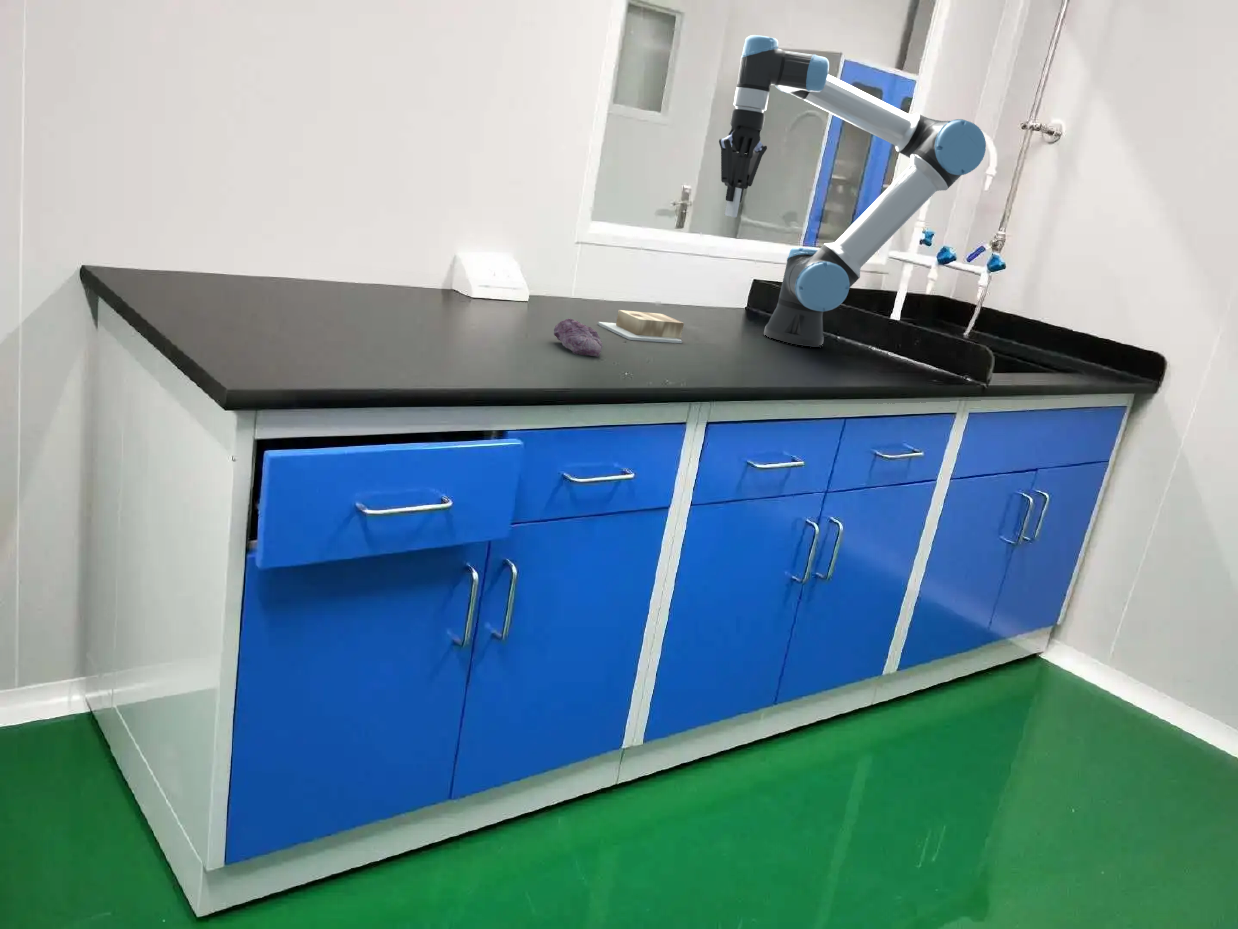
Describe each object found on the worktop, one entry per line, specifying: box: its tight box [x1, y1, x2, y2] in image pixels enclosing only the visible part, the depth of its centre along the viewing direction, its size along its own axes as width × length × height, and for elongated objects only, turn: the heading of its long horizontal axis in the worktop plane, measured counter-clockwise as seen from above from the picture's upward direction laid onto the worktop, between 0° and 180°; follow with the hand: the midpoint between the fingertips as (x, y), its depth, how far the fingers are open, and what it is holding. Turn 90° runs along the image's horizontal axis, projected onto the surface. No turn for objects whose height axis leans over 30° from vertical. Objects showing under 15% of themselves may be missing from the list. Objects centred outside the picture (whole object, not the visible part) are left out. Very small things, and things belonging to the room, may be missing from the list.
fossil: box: [553, 318, 604, 358], centre depth 198 cm, size 8×14×5 cm, turn 30°
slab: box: [615, 309, 685, 339], centre depth 228 cm, size 4×9×12 cm
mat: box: [597, 321, 683, 344], centre depth 227 cm, size 14×14×1 cm
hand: (730, 216), depth 235 cm, fingers closed
